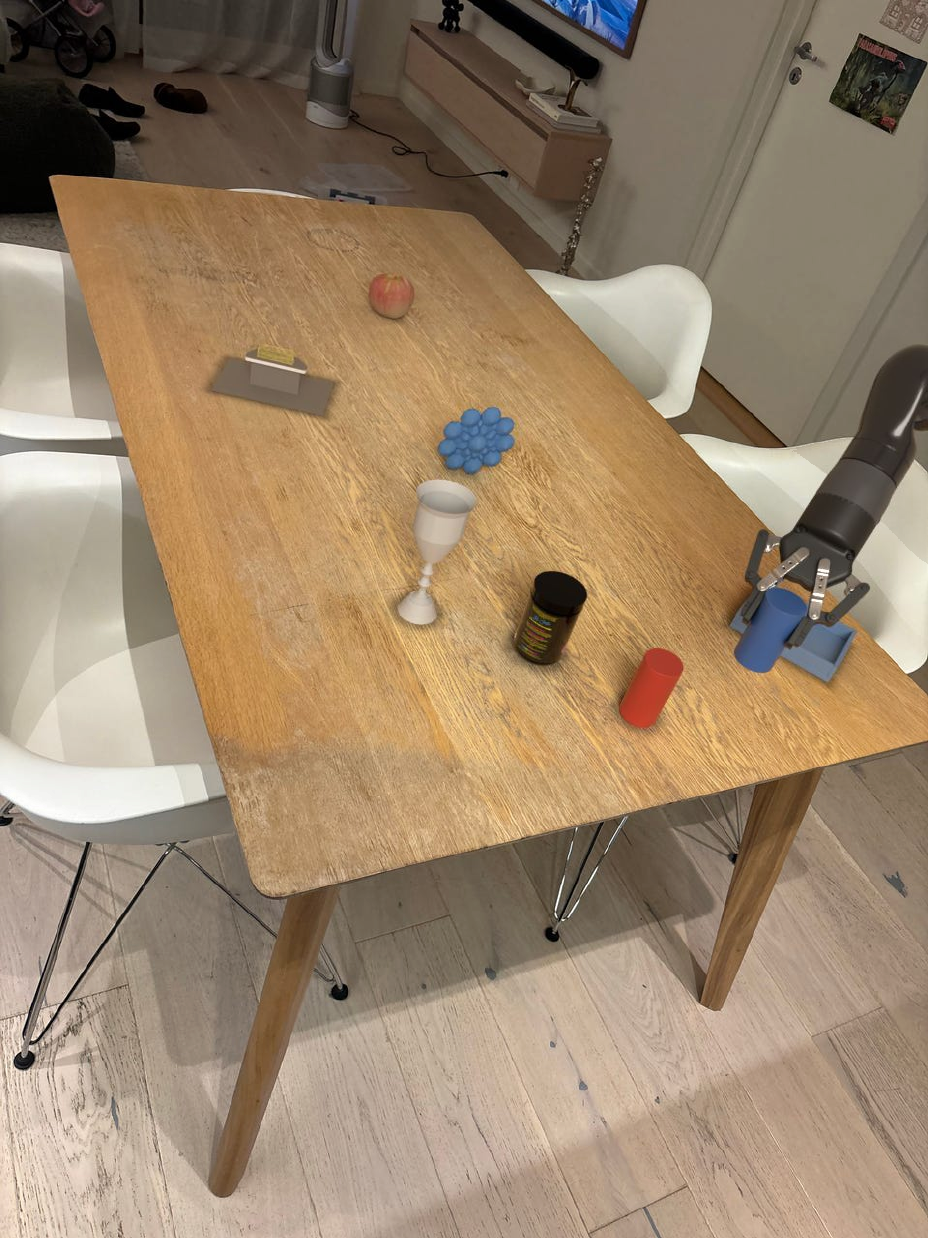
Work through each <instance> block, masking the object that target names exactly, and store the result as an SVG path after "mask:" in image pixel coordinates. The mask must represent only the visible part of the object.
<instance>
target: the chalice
mask: <svg viewBox="0 0 928 1238" xmlns="http://www.w3.org/2000/svg"><path fill="white" fill-rule="evenodd" d="M415 492H416V498H417V501H418V502H417V505H416V510H415V514H414V517H413V521H412V522H413V523H412V530H413V534H414V535H413V536H414V541H415V545H416V548H417V549H418V553H419V555H420V556H419V557H420V558H421V559H422V560H423V561H425V563H424V565H423V567H421V568H420V572H421V574H422V576H421V578H418V580H417V584H418V586H419V587H418V588H419V589H418V590H417V589H416V590H412V591H410V592H409V593H407V595H406V596H405V597H404V598H403V599H402V600H401V602H399V603H398V606H397V612H398V614H399V615H400V617H401V618H402V619H404V621H406V622H408V623H411V624H415V625H428V624H430V623H433V622H434V621H435V620H436V619H437V610H436V606H435V600H434V599H433V597H432V596H431V595H430V594H429V593H428V592H427V590H428V588H430V587H431V586H432V581H431V576H432V575H434V574H435V570H434V564H438V563H440V562H442V561H443V560H444V559H445V558H446V557H447V556H448V555H449V554H450V553H452V551H454V550H455V548H456V547H457V546H458V544H459V543H460V542H461V541H462V539H463V537H464V534H465V530H466V527H467V524H468V520H469V516H470V513H472V511H473V510H474V509H475V508H476V506H477V504H478V500H477V496H476V495H475V493H473V491H472V490H471V489H469V488H468V487H467V486H465V485H463V484H460V483H458V482H455V481H451V480H448V479H447V480H446V479H430V480H427V481H424V482H421V483H420V484H419V485H418V486H417V487H416V490H415Z"/></svg>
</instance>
